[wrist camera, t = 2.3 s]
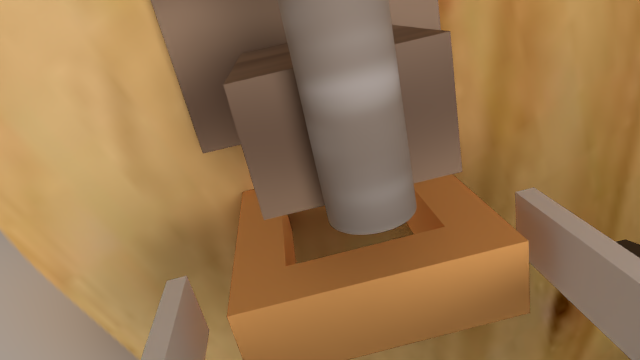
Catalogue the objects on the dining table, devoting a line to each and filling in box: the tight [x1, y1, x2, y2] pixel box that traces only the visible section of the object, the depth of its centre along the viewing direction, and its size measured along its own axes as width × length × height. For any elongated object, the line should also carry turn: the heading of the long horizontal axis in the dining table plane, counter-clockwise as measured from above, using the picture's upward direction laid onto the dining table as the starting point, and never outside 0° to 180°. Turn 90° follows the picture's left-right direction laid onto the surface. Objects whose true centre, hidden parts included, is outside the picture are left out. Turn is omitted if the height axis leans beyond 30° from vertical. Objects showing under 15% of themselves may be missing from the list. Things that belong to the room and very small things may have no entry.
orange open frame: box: [227, 174, 530, 360], centre depth 19 cm, size 3×10×10 cm, turn 102°
